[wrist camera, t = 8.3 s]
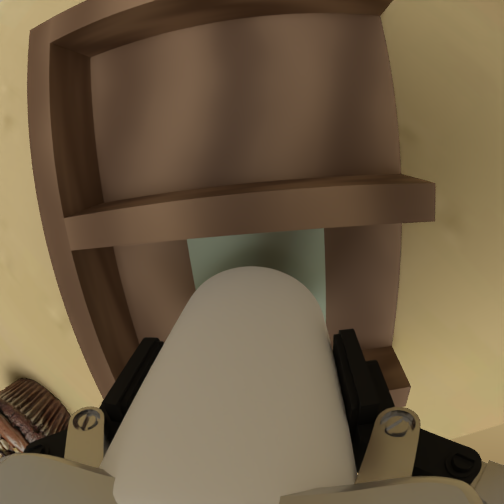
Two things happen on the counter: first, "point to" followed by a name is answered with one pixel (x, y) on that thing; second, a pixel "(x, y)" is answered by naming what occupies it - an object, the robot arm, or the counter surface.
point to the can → (237, 401)
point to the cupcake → (28, 415)
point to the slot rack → (219, 163)
